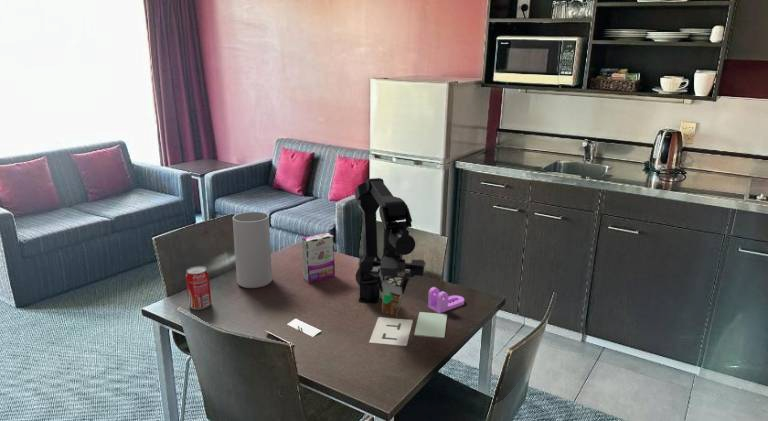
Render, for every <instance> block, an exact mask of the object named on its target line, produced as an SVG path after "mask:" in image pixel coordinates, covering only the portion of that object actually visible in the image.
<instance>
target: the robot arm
mask: <svg viewBox="0 0 768 421" xmlns="http://www.w3.org/2000/svg"><path fill="white" fill-rule="evenodd" d="M354 197H355V200H356V205H357V206H358V207H359V209H360V210H361V212H362V213H361V214H362V215H361V218H362V220H361V221H362V237H363V238H362V239H363V240H362V242H363V255H362V257H361V259H360V260H359V263H358V264H359V265H358V269H357V271H356V273H355V281H356V283H357V284H358V286H359V298H358V302H362V303H371V304H372V303H375V304H376V303H378V301H379V300H380V299H381V296H382V293H383V291H384V287H383V286H382V282H383V280H384V278H385V277H386V276H392V277H396V276H397V275H398V274H402V272H403V273H404V281H403V287H402V295H405V294H404V293H405V291H406V289H407V285H408V283H409V281H410V279H411V278H415V276H418V277H419V276H420V277H422V276H425V271H426V261H425V260H423V259H411V262H406V260H405V259H403V258H404V256H407V255H409V254H411V253H412V252H413V251H414V250H415V247H416V241H415V239H414V237H413V236H412V235H410V231H409V229H408V228H412V226H413V225H412V222H413V219H412V216H411V212H410V208H409V206H408V204H406V202H405V201H404V200H403V199H402V198H400V197H397V196H395V195H393V194H392V192H391V191H390V190H389V188H388V187H387V185H385V182H384V179H383V178H380V177H374V178H368V179H366V180H365V181H364V182H362V183H360V184H359V185H357V187H356V188H355V190H354ZM378 210H379V217H380V220H381V221H380V222H382V223H381V224H382V226H383V236H382V237H383V245H382V248H383V250H382V256H381V258H380V257H379V255H378V232H377V229H378V227H377V211H378Z"/></svg>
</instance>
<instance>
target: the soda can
mask: <svg viewBox="0 0 768 421" xmlns="http://www.w3.org/2000/svg"><path fill="white" fill-rule="evenodd" d="M185 282H186V292H187V301H188V306H189V308H190V309H191V310H195V311H200V310H204V309H207V308H209V307H210V306H211V304H212V296H211V286H210V276H209V271H208V269H207V267H205V266H204V265H203V266H202V265H198V266H191V267H189V268H188V269H186V274H185Z"/></svg>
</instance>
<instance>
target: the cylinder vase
mask: <svg viewBox="0 0 768 421" xmlns="http://www.w3.org/2000/svg"><path fill="white" fill-rule="evenodd" d="M232 227H233V231H232V232H233V240H234V241H233V242H234V243H233V244H234V257H235V269H236V270H235V271H236V272H235V273H236V283H237V285H238V286H240V287H242V288H244V289H245V288H246V289H257V288H258V289H259V288H263V287H265V286H268V285H269V284H271V283H272V281H273V272H272V271H273V270H272V252H271V251H272V250H271V248H272V247H271V232H270V216H269V214H268V213H266V212H262V211H246V212H241V213H236V214H235V215H233V216H232Z"/></svg>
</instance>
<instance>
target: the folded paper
mask: <svg viewBox="0 0 768 421" xmlns="http://www.w3.org/2000/svg"><path fill="white" fill-rule="evenodd" d="M286 325H287V326H290V327H291V328H294V329H295V330H297V331H299V332H302V333H304V334H306V335H308V336H310V337H312V338H313V337H315V336H316V335H317V334H319V333H320V332H322V330H321V329H320V328H317V327H314V326H312V325H310V324H308V323H305V322H304V321H301V320H299V319H298V318H294V319H292V320H291V321H290V322H288V323H287V324H286ZM264 331H265V332H266V333H269V334H271V335H273V336H274V337H276V338H279V339H280V340H282V341H284V342H286V343H288V344H290V343H291V342H290V341H287V340H286V339H284V338H283V337H280V336H278V335H275V333H272V332H270V331H267V330H264ZM290 345H292V346H293V345H294V346H295V344H294V343H291V344H290Z"/></svg>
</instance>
